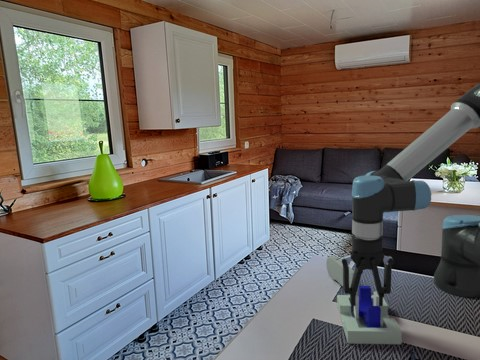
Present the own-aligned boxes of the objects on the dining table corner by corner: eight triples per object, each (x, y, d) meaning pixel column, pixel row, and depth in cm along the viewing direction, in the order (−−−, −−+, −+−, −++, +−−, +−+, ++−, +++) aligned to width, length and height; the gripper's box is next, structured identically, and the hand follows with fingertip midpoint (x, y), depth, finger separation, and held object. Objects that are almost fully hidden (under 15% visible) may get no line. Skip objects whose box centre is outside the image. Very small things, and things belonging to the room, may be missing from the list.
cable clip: (353, 304, 103) (353, 285, 102) (369, 304, 103) (369, 285, 102) (362, 329, 92) (362, 308, 91) (380, 330, 91) (380, 309, 90)
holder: (382, 305, 105) (382, 295, 105) (401, 344, 88) (401, 331, 88) (337, 305, 107) (337, 295, 106) (347, 343, 90) (347, 331, 89)
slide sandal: (361, 300, 109) (361, 275, 108) (354, 301, 109) (354, 276, 107) (332, 273, 128) (331, 251, 126) (326, 274, 128) (325, 252, 126)
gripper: (397, 229, 95) (395, 308, 100) (330, 230, 97) (331, 307, 102) (407, 239, 88) (404, 324, 92) (334, 240, 90) (335, 323, 95)
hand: (366, 315), depth 97 cm, fingers closed on cable clip, 4 cm apart
